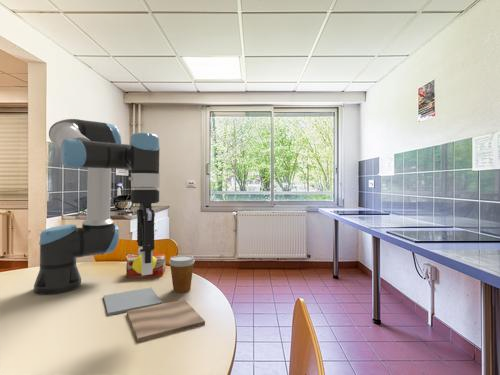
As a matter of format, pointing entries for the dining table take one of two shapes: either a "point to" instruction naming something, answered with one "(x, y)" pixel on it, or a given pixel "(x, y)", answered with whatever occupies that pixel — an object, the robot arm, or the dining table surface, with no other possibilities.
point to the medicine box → (157, 270)
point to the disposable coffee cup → (181, 272)
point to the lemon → (138, 264)
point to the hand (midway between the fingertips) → (145, 271)
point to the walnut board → (163, 319)
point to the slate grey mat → (130, 300)
